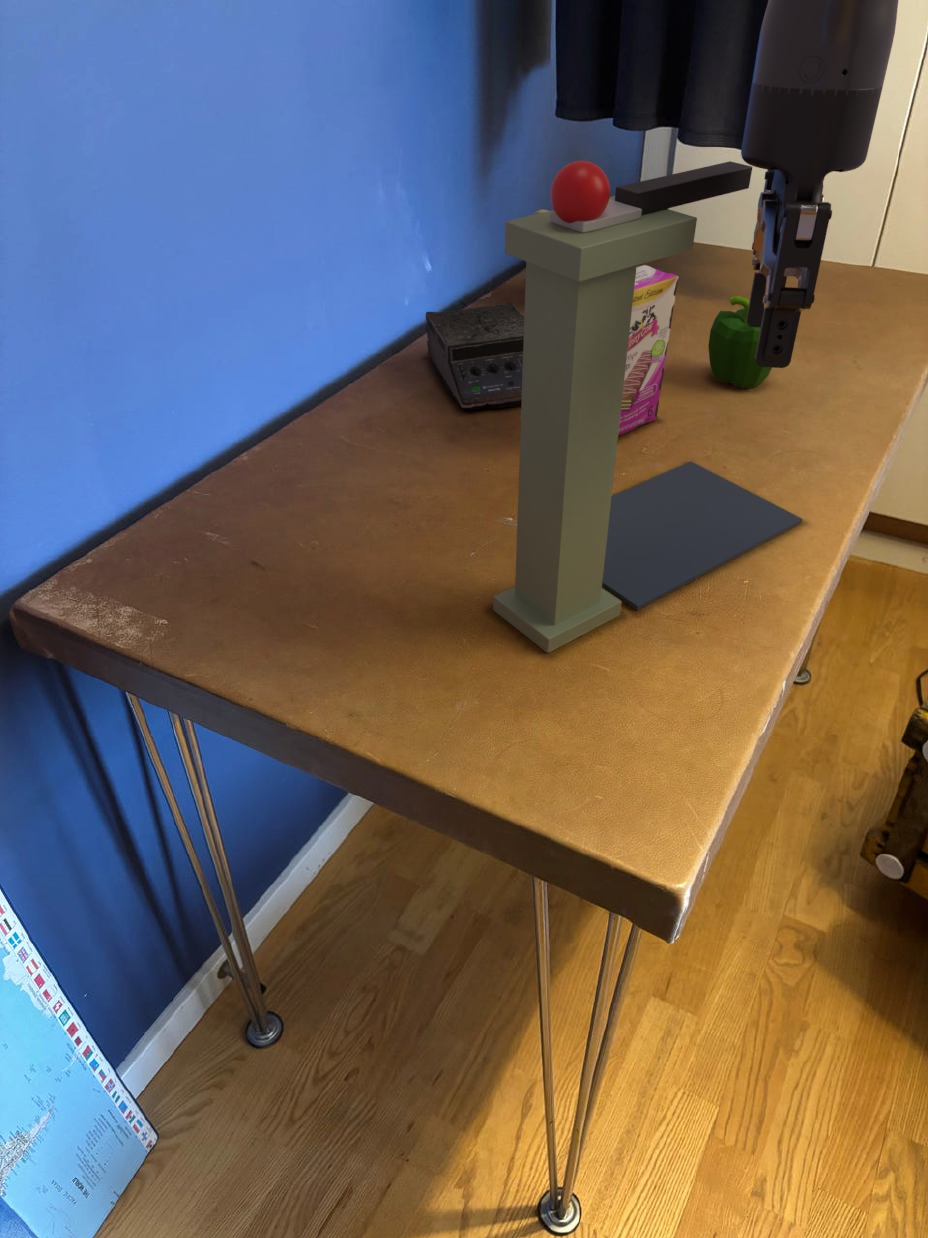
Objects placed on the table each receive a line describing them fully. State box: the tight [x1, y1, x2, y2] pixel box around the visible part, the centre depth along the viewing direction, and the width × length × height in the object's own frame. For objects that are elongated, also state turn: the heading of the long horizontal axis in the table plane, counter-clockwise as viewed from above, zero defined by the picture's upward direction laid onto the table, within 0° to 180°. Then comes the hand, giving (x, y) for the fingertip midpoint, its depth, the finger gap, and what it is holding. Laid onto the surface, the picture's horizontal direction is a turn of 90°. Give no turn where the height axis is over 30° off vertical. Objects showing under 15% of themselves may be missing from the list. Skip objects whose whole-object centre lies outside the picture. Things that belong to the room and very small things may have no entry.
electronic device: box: [425, 301, 525, 411], centre depth 110 cm, size 12×17×6 cm
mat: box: [602, 460, 803, 611], centre depth 86 cm, size 22×14×1 cm, turn 127°
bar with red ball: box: [550, 160, 753, 233], centre depth 58 cm, size 17×4×4 cm, turn 127°
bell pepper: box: [708, 295, 773, 389], centre depth 108 cm, size 8×8×10 cm
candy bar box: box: [618, 264, 679, 437], centre depth 97 cm, size 11×5×16 cm, turn 130°
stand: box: [492, 195, 698, 654], centre depth 67 cm, size 10×7×31 cm, turn 127°
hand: (765, 344), depth 64 cm, fingers open, 8 cm apart
